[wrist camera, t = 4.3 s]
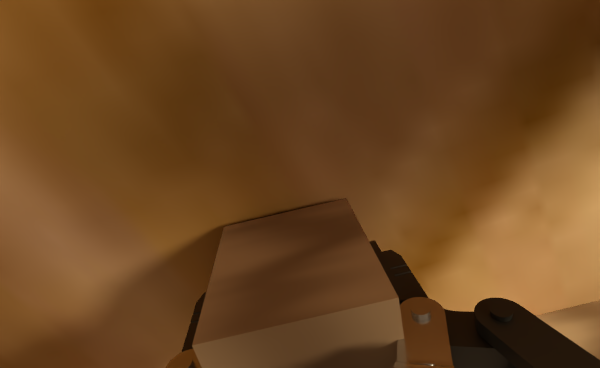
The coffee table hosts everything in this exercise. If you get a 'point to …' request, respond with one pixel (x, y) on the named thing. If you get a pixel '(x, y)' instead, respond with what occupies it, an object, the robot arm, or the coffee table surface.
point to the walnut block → (298, 295)
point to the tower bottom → (578, 325)
